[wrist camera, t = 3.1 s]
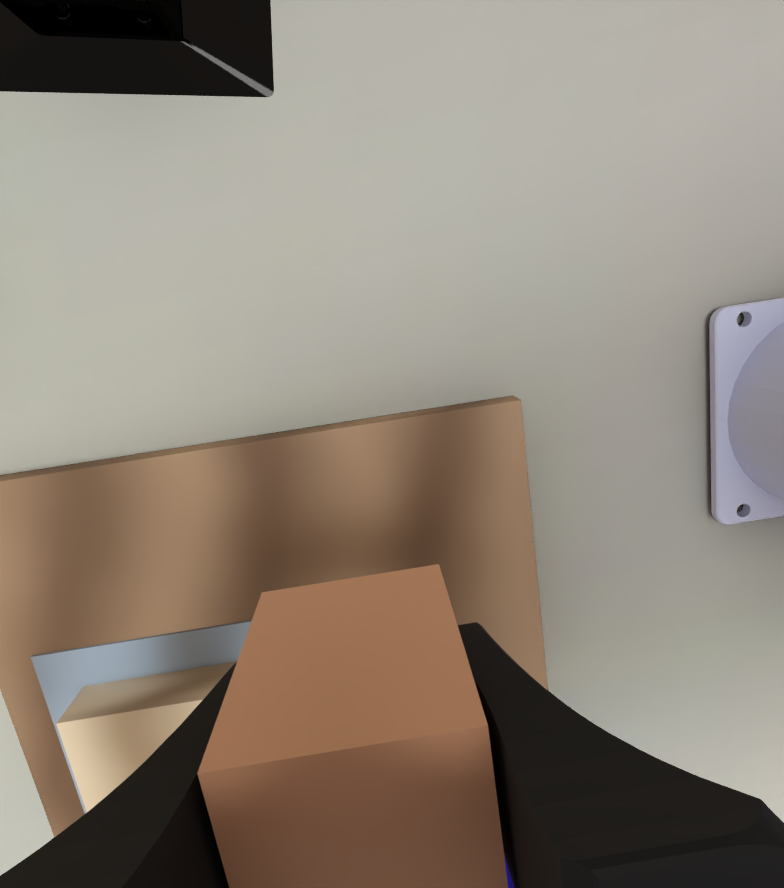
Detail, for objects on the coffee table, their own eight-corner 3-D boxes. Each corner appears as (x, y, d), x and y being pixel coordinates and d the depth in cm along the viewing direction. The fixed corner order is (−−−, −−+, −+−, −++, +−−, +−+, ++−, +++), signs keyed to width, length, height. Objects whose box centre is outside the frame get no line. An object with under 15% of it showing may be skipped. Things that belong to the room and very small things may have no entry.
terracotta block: (438, 563, 12) (488, 725, 8) (460, 715, 13) (515, 944, 9) (261, 592, 12) (197, 773, 8) (295, 742, 13) (257, 987, 9)
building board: (512, 395, 20) (539, 410, 17) (548, 766, 24) (575, 830, 21) (-50, 483, 19) (-123, 513, 17) (78, 844, 23) (37, 921, 20)
